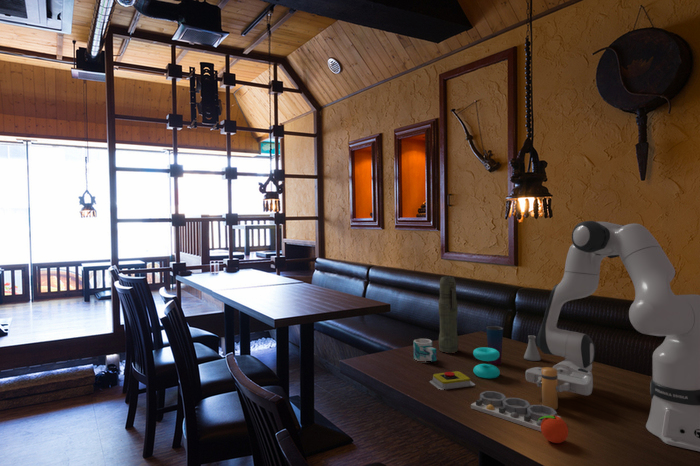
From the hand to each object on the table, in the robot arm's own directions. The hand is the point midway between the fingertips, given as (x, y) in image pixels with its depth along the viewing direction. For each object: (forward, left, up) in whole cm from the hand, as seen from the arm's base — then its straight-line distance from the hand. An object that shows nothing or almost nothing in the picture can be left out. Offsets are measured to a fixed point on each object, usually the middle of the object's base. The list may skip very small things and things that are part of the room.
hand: (548, 386), depth 140 cm
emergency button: (+35, +2, -8) cm, 36 cm away
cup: (+35, -31, -8) cm, 48 cm away
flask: (+26, -47, -8) cm, 54 cm away
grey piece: (+6, +11, -7) cm, 15 cm away
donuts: (+30, -15, -8) cm, 35 cm away
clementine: (-9, +20, -8) cm, 23 cm away
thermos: (+59, -32, -8) cm, 68 cm away
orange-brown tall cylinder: (0, -1, -7) cm, 7 cm away
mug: (+58, -13, -8) cm, 60 cm away
